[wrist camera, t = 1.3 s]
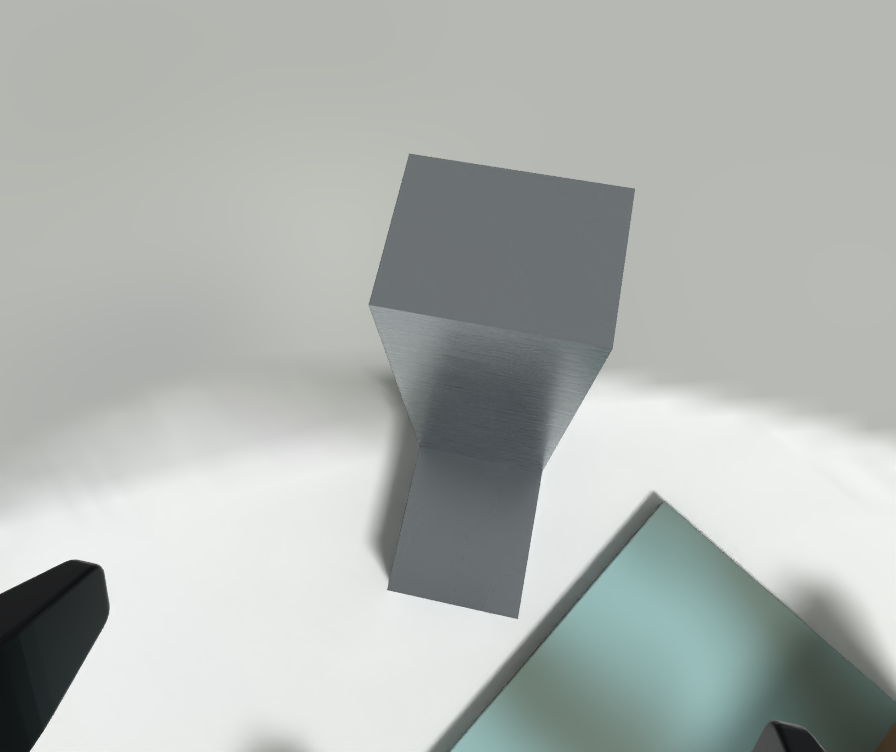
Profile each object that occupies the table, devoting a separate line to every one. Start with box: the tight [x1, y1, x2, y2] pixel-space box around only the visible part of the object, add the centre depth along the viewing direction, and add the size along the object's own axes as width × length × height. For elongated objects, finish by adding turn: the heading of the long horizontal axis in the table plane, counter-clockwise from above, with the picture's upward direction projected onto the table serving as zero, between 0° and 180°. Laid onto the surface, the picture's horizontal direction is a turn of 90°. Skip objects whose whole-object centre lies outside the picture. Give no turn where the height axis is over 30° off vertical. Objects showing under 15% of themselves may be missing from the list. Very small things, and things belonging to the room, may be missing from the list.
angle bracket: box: [369, 154, 635, 619], centre depth 16 cm, size 8×4×12 cm, turn 168°
